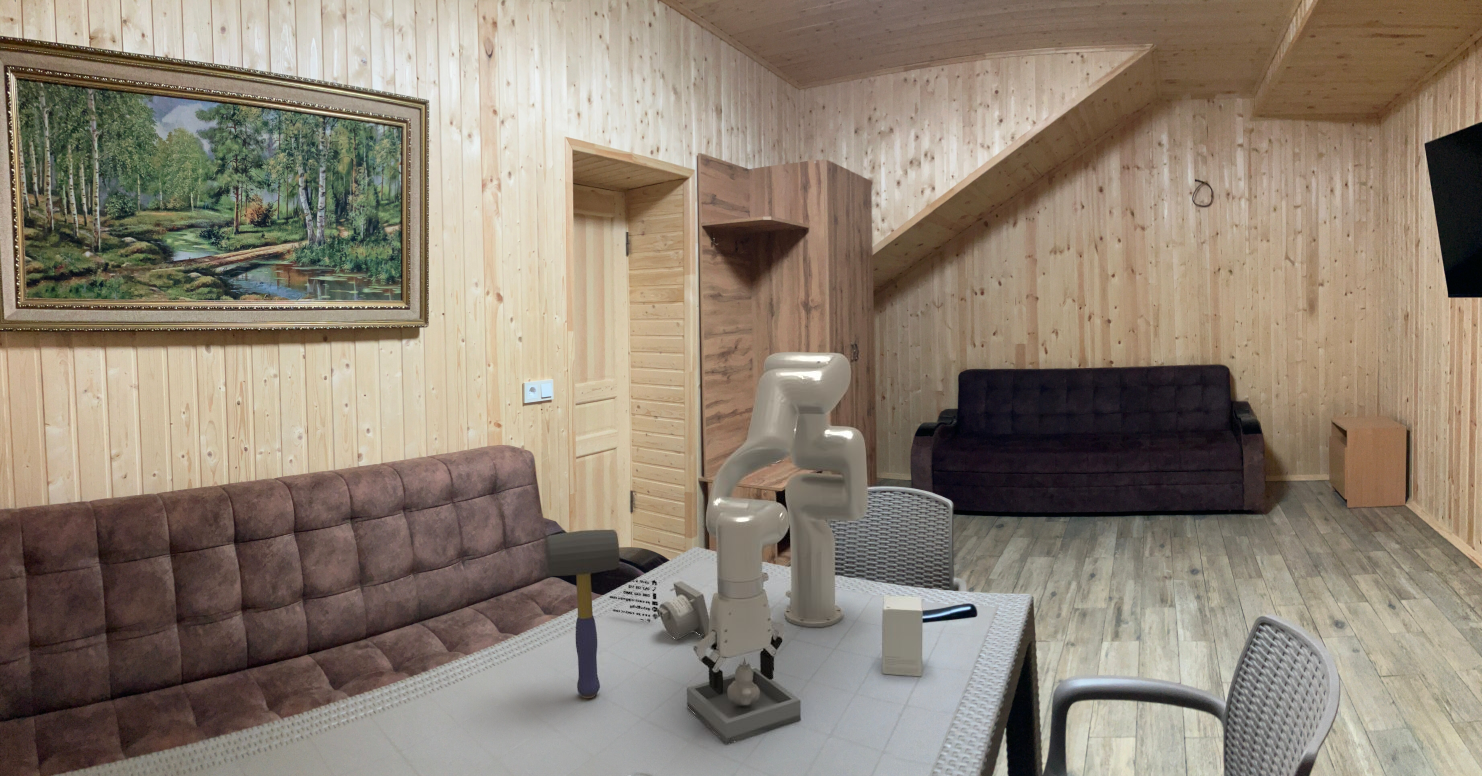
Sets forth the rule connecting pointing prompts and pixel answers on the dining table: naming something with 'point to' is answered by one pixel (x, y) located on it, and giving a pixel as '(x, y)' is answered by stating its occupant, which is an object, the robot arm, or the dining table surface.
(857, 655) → the dining table surface
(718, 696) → the tray
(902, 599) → the supplement box
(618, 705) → the dining table surface
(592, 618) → the rubber mallet
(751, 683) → the beige rounded piece
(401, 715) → the dining table surface
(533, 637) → the dining table surface
